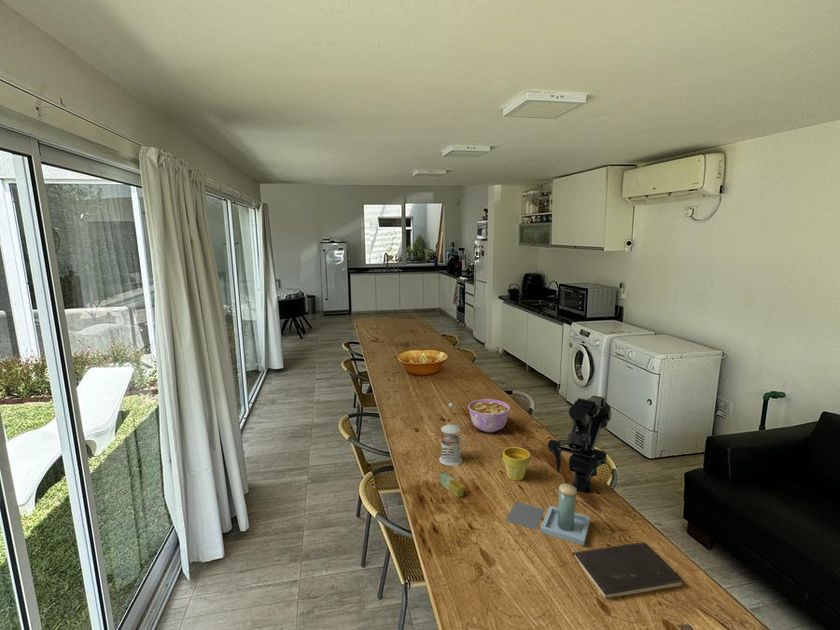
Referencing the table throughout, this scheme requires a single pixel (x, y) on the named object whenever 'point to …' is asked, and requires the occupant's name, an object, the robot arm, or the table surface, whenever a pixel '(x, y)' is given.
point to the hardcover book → (626, 569)
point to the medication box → (452, 484)
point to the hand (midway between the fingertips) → (572, 476)
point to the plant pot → (516, 462)
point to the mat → (525, 515)
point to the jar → (566, 507)
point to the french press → (453, 456)
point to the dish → (553, 530)
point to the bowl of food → (489, 414)
